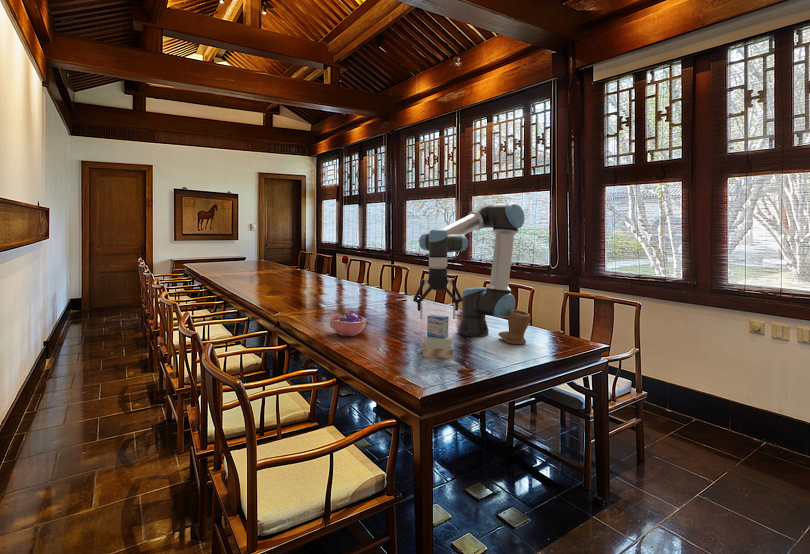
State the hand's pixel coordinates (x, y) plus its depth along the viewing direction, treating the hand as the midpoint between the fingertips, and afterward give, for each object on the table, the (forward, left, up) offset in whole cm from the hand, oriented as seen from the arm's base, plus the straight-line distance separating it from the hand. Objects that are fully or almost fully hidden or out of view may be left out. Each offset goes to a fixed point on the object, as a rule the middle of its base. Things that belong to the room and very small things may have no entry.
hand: (437, 318), depth 187 cm
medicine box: (0, 0, -8) cm, 8 cm away
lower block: (0, 0, -15) cm, 16 cm away
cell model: (+41, -32, -15) cm, 54 cm away
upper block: (0, 0, -11) cm, 11 cm away
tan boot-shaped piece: (-38, -22, -15) cm, 46 cm away
